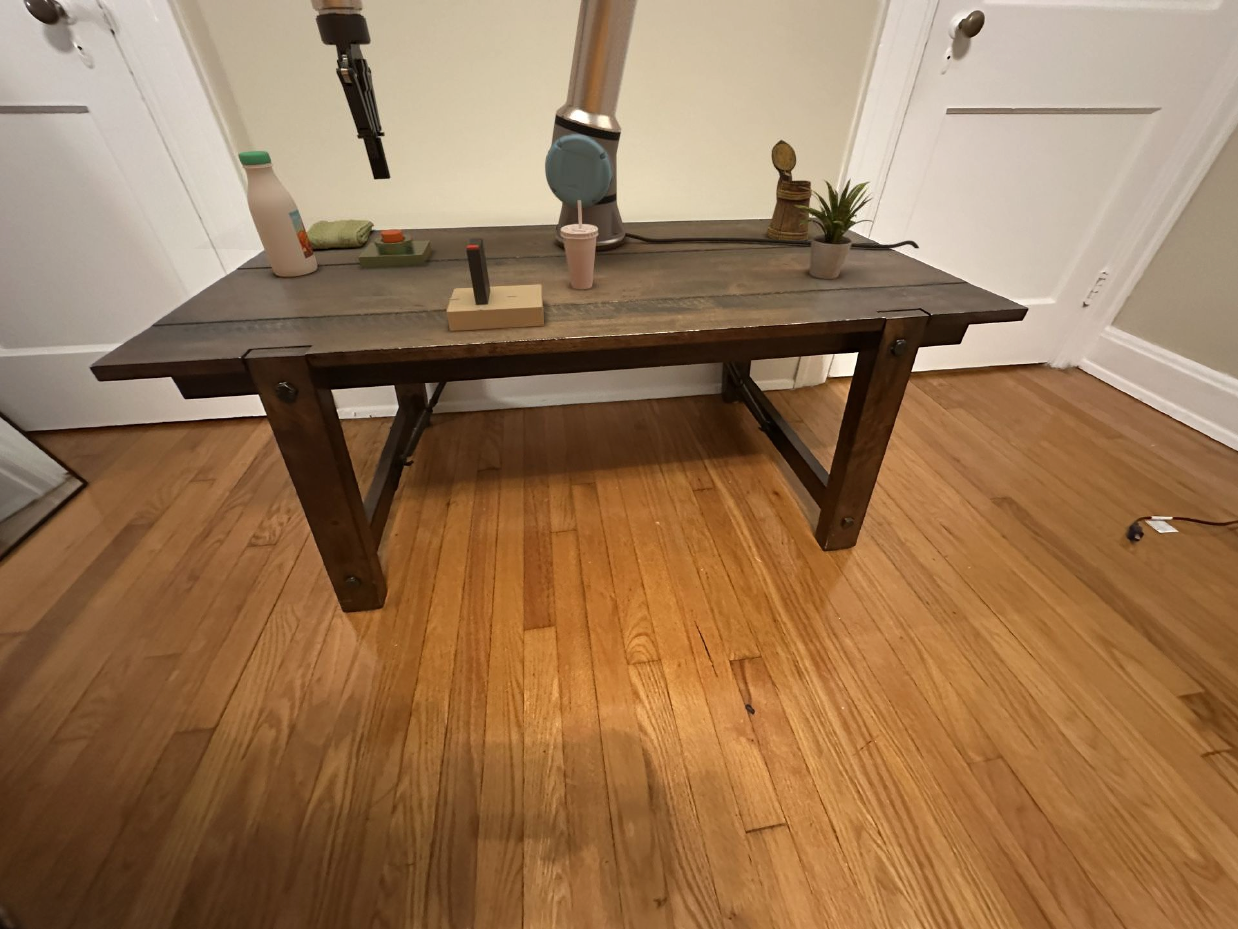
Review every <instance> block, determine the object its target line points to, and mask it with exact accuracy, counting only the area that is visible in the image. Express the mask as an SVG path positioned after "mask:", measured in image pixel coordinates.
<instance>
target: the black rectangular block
mask: <svg viewBox="0 0 1238 929" xmlns="http://www.w3.org/2000/svg"><path fill="white" fill-rule="evenodd" d="M484 246H485V245H484V239H483V237H474V238H473V237H471V238H469V241H468V244H467V246H466V251H465V252H466V256H467V262H468V268H469V274H470V280H471V285H472V288H473V292H474V297H475V303H476V305H482V304H488V301H489V295H490V287H491V285H490V279H489V272H488V266H487V258H486V252H485V247H484Z"/></svg>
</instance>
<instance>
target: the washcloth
mask: <svg viewBox="0 0 1238 929" xmlns="http://www.w3.org/2000/svg"><path fill="white" fill-rule="evenodd" d="M373 227H375V224H374V223H373V222H372V221H370V220H367V219H341V220H335V221H328V220H319V221H317V222H314V223H313V224H312V226H310V227H309V229H308V230H306V233H307V236H308V239H309V242H310V244H311V247H312V250H313V251H314V250H320V249H321V250H329V249H331V248H334V249H339V248H340V249H349V248H351V249H352V248H360V247H362V246H363V244H365V243H366V242H367V241H368V239H369V235H370V233H371V231H372V228H373Z"/></svg>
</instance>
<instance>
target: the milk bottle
mask: <svg viewBox="0 0 1238 929" xmlns="http://www.w3.org/2000/svg"><path fill="white" fill-rule="evenodd" d="M237 154H238V156H237V157H238V159H239V162H240V163H241V165H242V168H243V169H244V170H245V174H246V178H247V179H246V180H247V194H246V195H247V196H246V198H247V199H246V200H247V206H248V210H249V213H250V216H251V219H252V221H253V224H254V227H255V230H256V232H257V235H258V236H259V237H258V238H259V239H260V242H261V244H262V247H263V249H264V253H265V255H266V258H267V259H268V262H269V264H270V267H271V270H272V272H273V273H274V274H275V275H276V276H278V277H284V278H285V277H286V278H289V277H291V278H292V277H300V276H304V275H308V274H310V273H313V272H316V271H317V270H318V262H317V259H316V256H315V252H314V249H313V250H312V247H311V244H310V242H309V239H308V236H307V233H306V232H307V230H306V228H305V225H304V224H305V223H304V222H303V219H302V215H301V214H300V211H299V207H298V206H297V204H296V202H295V200H294V198H293V195H291V193H290V191H289V190H288V189H287V188H286V186H284V184H283V183H282V182H281V181H280V179H279V177H278V176H277V174H276V173H275V171H274V169H273V166H274V165H273V162H272V159H271V156H270V153H269V152H268V151H266V150H251V151H250V150H249V151H243V152H238V153H237Z"/></svg>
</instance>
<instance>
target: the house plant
mask: <svg viewBox="0 0 1238 929" xmlns="http://www.w3.org/2000/svg"><path fill="white" fill-rule="evenodd" d="M823 182H825V184H826V186H827V192H828V201H829V205H828V202H826V200H825V199H824V198H823V197H822V196H821V195H820V194H819V193H818V192H816V191H815V190H813V189H812V188H811V189H812V190H811V189H808V188H805V189H808V190H811V191H812V195H811V196H814V198H817V201H818V204H819V208H820V210H818V209H816V208H813V207H811V206H809V207H806V206H800V205H794V206H796V207H798V208H801V209H804V210H805V211H807V212H808V213H809V216H808V215H807V216H808V217H809V219H805V220H802V221H803V222H802V221H800V222H801V224H804V223H807V222H809V223H810V222H812V223H813V225H814V226H816V228H817V229H818V230H819V232H820V233H821V234H816V235H814V236H811V239H810V241H811V245H810V259H809V260H810V262H809V275H810V276H812V277H814V278H817V279H823V280H832V279H833V280H834V279H837V278H838V277H839V275H840V273H841V271H842V268H843V266H844V263H845V261H846V258H847V256H848V254H849V252H850V249H851V248H852V247H851V245H852V243H854V242H853V241H854V240H853V239H852V238H850V237H848V236H844V235H845V234H846V233H847V232H848V231H849V230H850V229H851V228H852V227H853V226H855V225H857V224H859V223H862V222H871V223H873V224H874V223H875V222H874V221H873V220H870V219H862V220H858V221H854V220H852V219H853V218H857V215H858V214H856V213H857V212H858V211H859V210H861V209H862V208H863V207H864V206H865V205H866V204H867V203H868V202H870V201H871V200H872V199H874V197H873V196H872V197H871V198H869V197H870V196H871V194H872V192H870V193H869V194H868V195H867V196H866V197H865V198H864V199H863V197H864V195H865V194H866V193H867V191H868V189H869V188H870V186H868V187H866V186H867V185H868V184H869V183H870V181H866V182H862V183H859V184H856V185H855V186H853V188H852V189H851V190H850V191H849V189H850V185H851V178H849V180H848V181H847V182H846V184H845V186H844V189H843V191H842V192H841V194H840V198H839V193H838V191H837V190H836V189H835V188H833V186H832V184H831V183H830V182H828V181H827V180H825V179H823ZM798 187H799V186H798ZM865 187H866V189H865V190H864V188H865ZM802 188H804V187H802ZM863 190H864V191H863ZM862 191H863V192H862ZM861 192H862V193H861ZM860 193H861V194H860ZM809 194H811V193H809ZM815 195H816V196H815ZM858 196H859V197H858ZM857 197H858V198H857ZM868 198H869V199H868ZM861 199H863V200H861ZM855 200H856V201H855ZM860 201H861V203H859V202H860ZM858 203H859V205H858V206H857V204H858ZM856 206H857V207H856ZM855 207H856V208H855ZM802 214H804V213H802ZM805 215H806V214H805ZM810 215H811V217H810ZM813 217H815V218H817V219H819V220H820V222H819V221H817V220H815V219H812V218H813ZM801 224H800V225H801ZM816 224H817V225H818V226H819V227H820V228H819V227H818V226H817V225H816ZM798 227H799V226H798ZM820 229H821V230H820Z"/></svg>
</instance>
